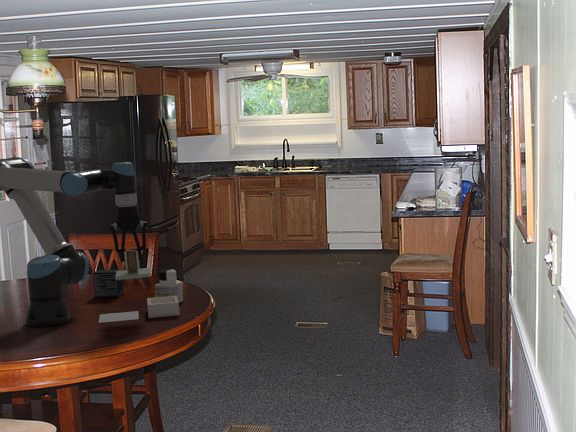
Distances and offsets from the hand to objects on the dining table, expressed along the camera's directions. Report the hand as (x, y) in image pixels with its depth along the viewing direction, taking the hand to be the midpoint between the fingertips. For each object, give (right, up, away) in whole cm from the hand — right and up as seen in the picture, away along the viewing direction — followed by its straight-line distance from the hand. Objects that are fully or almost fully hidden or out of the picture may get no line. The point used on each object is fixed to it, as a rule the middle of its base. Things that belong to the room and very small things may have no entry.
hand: (132, 269), depth 280 cm
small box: (-17, -14, +38) cm, 44 cm away
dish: (+10, -16, +5) cm, 20 cm away
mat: (-5, -18, +2) cm, 18 cm away
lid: (0, -2, 0) cm, 2 cm away
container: (+10, -15, +21) cm, 28 cm away
